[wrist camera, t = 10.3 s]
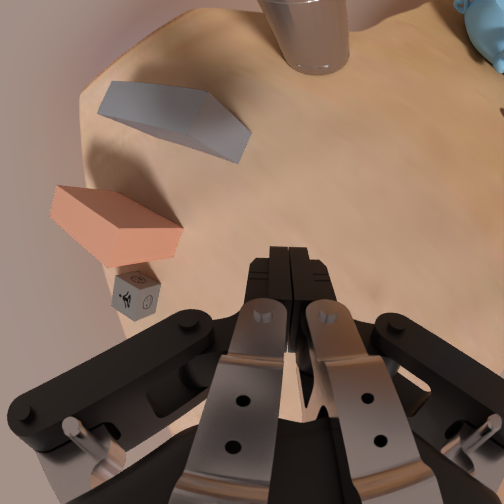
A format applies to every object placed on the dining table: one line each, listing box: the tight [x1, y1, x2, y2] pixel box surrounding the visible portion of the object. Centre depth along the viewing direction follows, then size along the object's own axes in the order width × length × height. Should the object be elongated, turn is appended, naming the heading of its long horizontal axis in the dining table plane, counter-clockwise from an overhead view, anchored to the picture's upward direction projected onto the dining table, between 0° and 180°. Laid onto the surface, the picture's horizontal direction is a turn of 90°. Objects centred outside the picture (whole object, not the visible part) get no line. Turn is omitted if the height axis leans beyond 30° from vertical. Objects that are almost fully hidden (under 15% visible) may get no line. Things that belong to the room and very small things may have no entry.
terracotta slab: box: [50, 185, 184, 268], centre depth 33 cm, size 15×4×12 cm, turn 65°
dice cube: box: [111, 271, 161, 322], centre depth 38 cm, size 5×5×5 cm
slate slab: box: [97, 81, 252, 164], centre depth 29 cm, size 15×4×12 cm, turn 66°
